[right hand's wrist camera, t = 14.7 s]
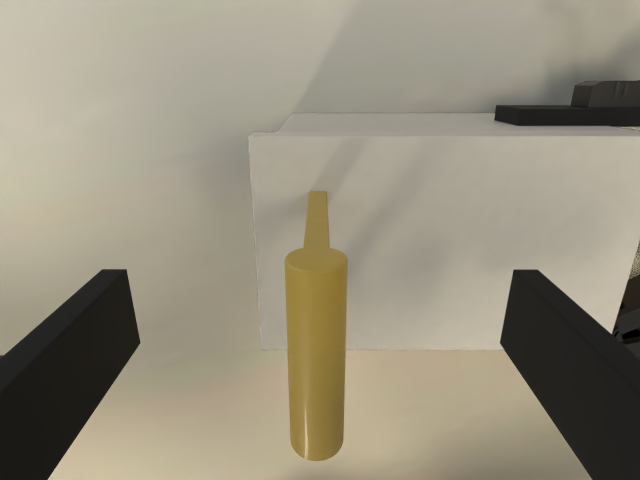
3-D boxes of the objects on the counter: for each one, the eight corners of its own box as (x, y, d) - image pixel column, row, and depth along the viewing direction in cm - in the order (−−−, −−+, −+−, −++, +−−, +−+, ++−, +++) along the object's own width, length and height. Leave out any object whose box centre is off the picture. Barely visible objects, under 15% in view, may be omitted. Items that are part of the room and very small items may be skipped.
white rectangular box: (264, 334, 20) (225, 511, 12) (252, 132, 17) (186, 184, 8) (590, 334, 20) (777, 512, 12) (646, 131, 17) (968, 184, 8)
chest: (295, 253, 29) (283, 334, 20) (291, 112, 26) (275, 131, 17) (505, 254, 29) (589, 333, 20) (530, 112, 26) (645, 131, 17)
